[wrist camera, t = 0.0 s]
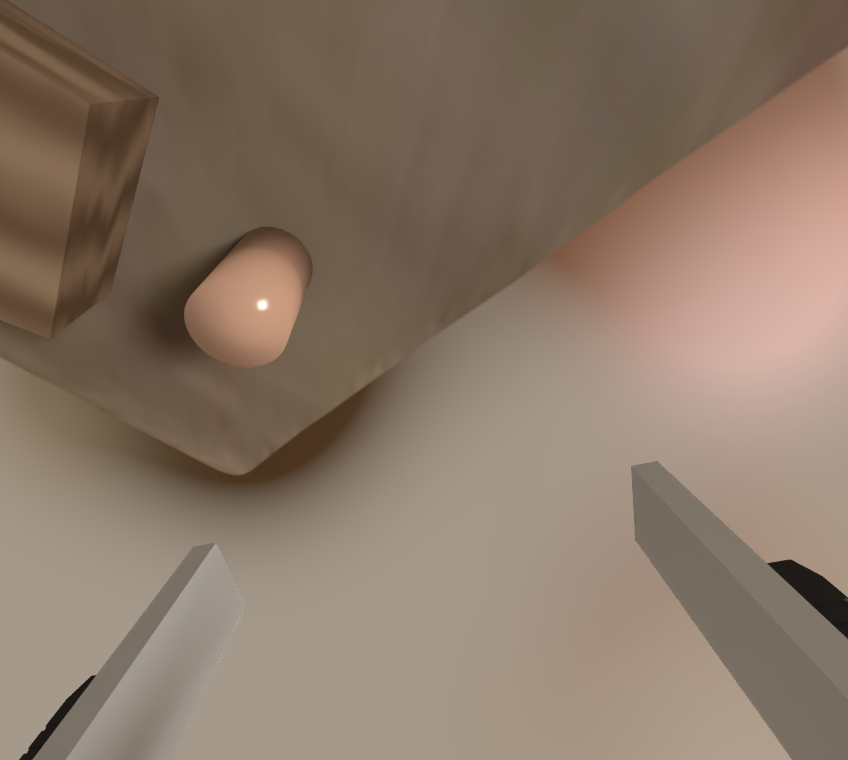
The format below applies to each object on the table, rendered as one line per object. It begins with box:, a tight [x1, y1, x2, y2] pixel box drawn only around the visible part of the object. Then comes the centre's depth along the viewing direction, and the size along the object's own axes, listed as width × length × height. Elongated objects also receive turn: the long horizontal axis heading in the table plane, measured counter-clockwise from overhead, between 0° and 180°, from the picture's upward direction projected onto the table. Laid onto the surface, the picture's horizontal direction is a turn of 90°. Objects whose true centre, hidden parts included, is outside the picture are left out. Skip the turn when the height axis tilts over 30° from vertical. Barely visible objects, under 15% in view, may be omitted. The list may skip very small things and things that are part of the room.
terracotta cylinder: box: [184, 227, 313, 367], centre depth 31 cm, size 6×6×11 cm
